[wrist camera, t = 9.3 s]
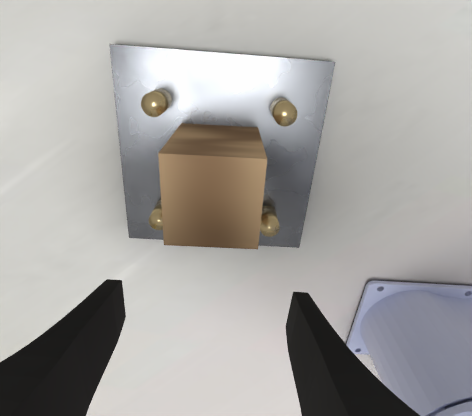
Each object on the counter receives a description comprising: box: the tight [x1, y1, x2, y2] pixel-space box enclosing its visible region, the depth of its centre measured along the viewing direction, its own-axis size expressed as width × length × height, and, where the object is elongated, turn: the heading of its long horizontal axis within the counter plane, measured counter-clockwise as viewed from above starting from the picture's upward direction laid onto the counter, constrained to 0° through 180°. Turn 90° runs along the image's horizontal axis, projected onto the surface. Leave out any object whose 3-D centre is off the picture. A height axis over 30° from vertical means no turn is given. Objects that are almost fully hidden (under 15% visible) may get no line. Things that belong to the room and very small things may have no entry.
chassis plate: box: [110, 44, 335, 248], centre depth 19 cm, size 12×12×3 cm
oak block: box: [158, 123, 267, 249], centre depth 16 cm, size 4×4×6 cm
